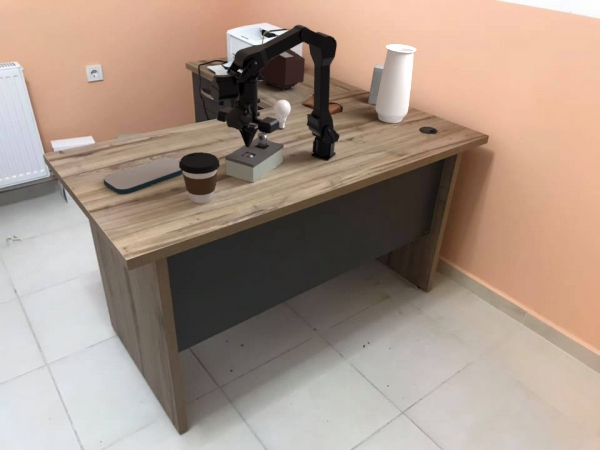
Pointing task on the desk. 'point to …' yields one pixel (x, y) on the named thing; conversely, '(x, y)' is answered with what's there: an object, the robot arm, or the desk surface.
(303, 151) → the desk surface
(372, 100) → the skincare box
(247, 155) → the outer peg
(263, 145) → the inner peg
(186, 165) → the coffee cup
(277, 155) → the press block
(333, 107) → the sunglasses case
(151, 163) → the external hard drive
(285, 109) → the lightbulb
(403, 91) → the vase
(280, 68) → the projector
